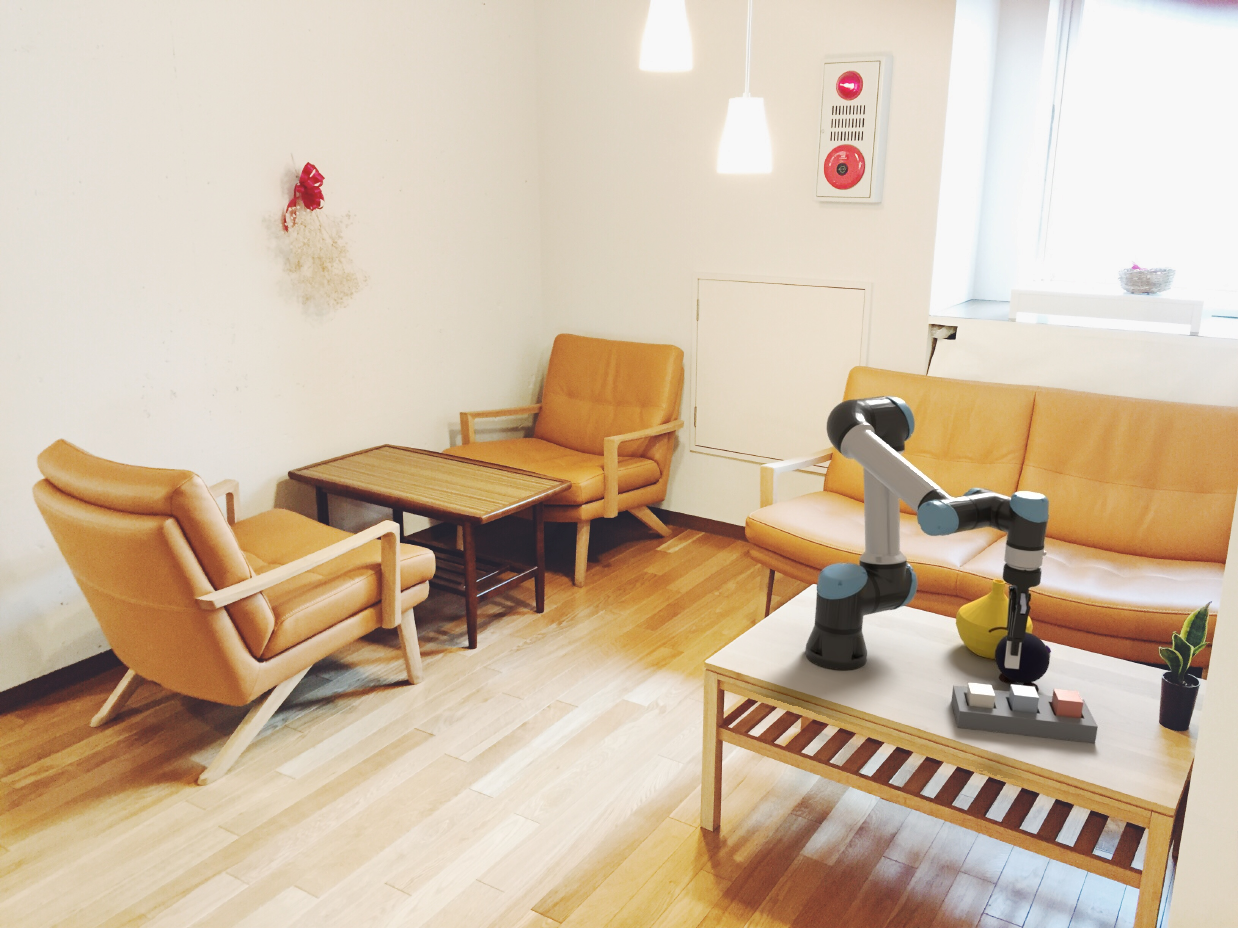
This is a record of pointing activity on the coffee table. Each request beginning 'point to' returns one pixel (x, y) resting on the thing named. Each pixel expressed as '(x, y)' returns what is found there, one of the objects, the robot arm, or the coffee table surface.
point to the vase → (985, 621)
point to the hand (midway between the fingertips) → (1011, 666)
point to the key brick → (1067, 703)
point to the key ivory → (980, 695)
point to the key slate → (1023, 698)
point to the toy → (1023, 660)
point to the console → (1023, 718)
